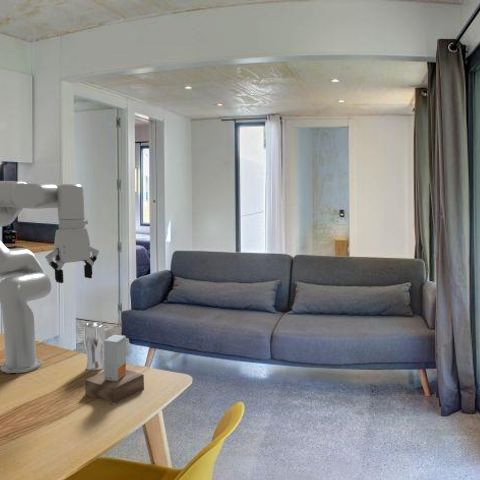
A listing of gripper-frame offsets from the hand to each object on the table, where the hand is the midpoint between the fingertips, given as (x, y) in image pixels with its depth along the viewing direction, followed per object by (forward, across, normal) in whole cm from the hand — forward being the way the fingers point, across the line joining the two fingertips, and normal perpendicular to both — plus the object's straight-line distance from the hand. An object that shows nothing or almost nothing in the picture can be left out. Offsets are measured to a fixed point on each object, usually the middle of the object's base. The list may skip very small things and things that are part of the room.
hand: (74, 280), depth 149 cm
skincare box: (+28, -2, +16) cm, 32 cm away
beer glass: (+32, -10, -6) cm, 35 cm away
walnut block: (+33, -2, +16) cm, 36 cm away
